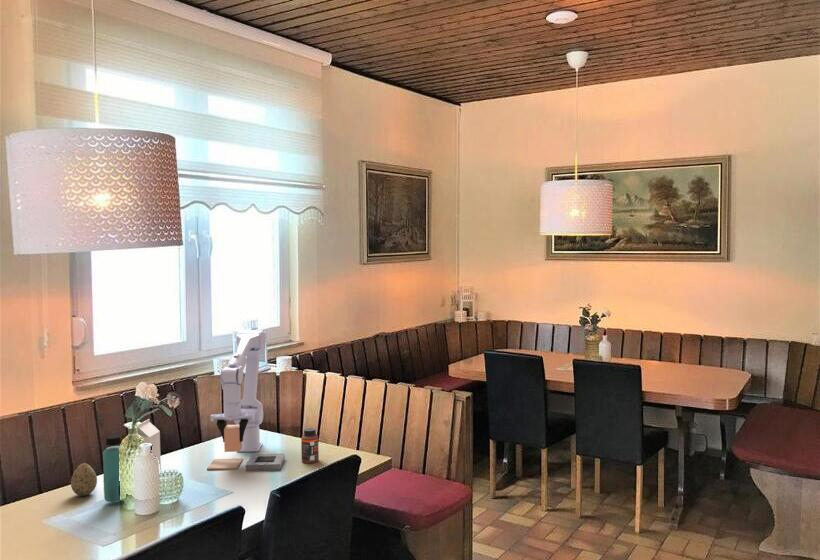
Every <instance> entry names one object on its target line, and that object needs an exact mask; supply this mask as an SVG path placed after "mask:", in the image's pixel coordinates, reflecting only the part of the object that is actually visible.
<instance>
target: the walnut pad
mask: <svg viewBox="0 0 820 560" xmlns="http://www.w3.org/2000/svg"><path fill="white" fill-rule="evenodd" d="M243 460H244V459H243V458H214V459H213V460H212V461H211V462H210V464H209V465H208V466H207V468H206V471H224V470H225V471H228V470H229V471H232V470H235V469H237V468H238V469H239V467H240V466H241V464H242V462H243ZM238 469H237V470H238Z"/></svg>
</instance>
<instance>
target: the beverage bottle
mask: <svg viewBox="0 0 820 560" xmlns="http://www.w3.org/2000/svg"><path fill="white" fill-rule="evenodd" d="M105 441H106V442H105V445H106V446H109V447H106V448H105V449H104V450H103V451H102V463H103V470H102V471H103V475H102V476H103V479H102V480H103V483H102V484H103V497H104V501H106V503H107V502H108V503H116V502H120V481H119V448H120V445H121V444H122V438H121V435H116V434H114V435H109V436H106V440H105Z"/></svg>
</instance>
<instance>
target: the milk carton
mask: <svg viewBox="0 0 820 560" xmlns="http://www.w3.org/2000/svg"><path fill="white" fill-rule="evenodd" d="M139 424H140V423H139ZM160 433H161V431H160V430H159V429H158V428H157V427H156V426H155V425H154V424H153V423H152V422H151V421H150V418H148V419H146V420H144V421H142V422H141V424H140V425H139V426H138V434H139V435H140V436H142V437H143V438H144V440H145V442H147V443H151V444H152V445H153V446H152V450H151V452H152V454H154V455H155V456H156V457H157V458H158V460H159V464H160V470H161V471H162V467H161V465H162V461H161V459H162V458H161V434H160Z"/></svg>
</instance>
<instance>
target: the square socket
mask: <svg viewBox="0 0 820 560" xmlns="http://www.w3.org/2000/svg"><path fill="white" fill-rule="evenodd" d="M285 455H286V454H285V453H264V454H263V453H259V454H257V453H255V454H251V455H250V456H249V458H248V460H247V462H246V464H245V472H257V471H258V472H259V471H262V472H263V471H281V469H282V467H283V464H284V462H285V460H284V459H285Z"/></svg>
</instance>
